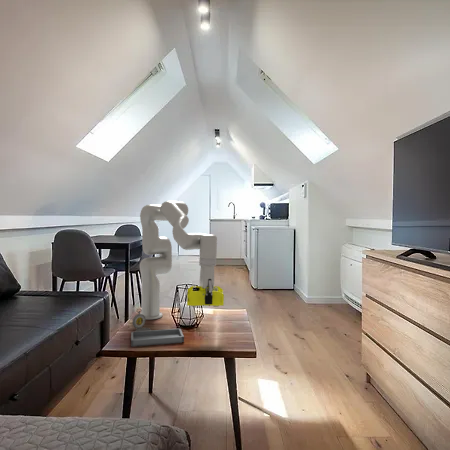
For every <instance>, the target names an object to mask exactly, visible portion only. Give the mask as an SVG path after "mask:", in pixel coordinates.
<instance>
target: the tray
mask: <svg viewBox="0 0 450 450" xmlns="http://www.w3.org/2000/svg"><path fill="white" fill-rule="evenodd" d="M130 335H131V336H130V340H131V341H130V342H131V343H130V345H131V347H145V346H155V345H156V346H157V345H158V346H159V345H169V344H172V345H173V344H182V342H184V343H185V336H184V334H183V331H182V329H181V328H170V329H168V328H167V329H166V328H165V329H154V330H153V329H151V330H150V331H136V330H134V331H131V332H130Z"/></svg>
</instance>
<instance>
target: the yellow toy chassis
mask: <svg viewBox="0 0 450 450" xmlns="http://www.w3.org/2000/svg"><path fill="white" fill-rule="evenodd" d="M207 288H209V287H207ZM207 291H208V290H207ZM205 295H206V290H205V289H203V288H202V287H201V286H200V285H191V286H190V287H188V288H187V295H186V296H187V297H186V298H187V301H186V302H187V303H186V305H187V307H188V306H190V307H199V306H202V307H204V306H205V307H206V306H208V307H212V306H213V307H215V308H216V307H217V308H219V307H222V306H224V304H225V302H224V301H225V296H224V289H223V288H222V287H220V286H219V285H218V286H217V285H216V286H215V285H214V288H213V289H212V304H205Z"/></svg>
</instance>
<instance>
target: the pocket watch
mask: <svg viewBox="0 0 450 450" xmlns="http://www.w3.org/2000/svg"><path fill="white" fill-rule="evenodd" d="M136 311H137V313H138V314H136V315H135V316H134V317H133V318H132V326H133V327H134V328H135V331H150V330H152V329H151V328H150V327H144V326H145V324H146V319H145V316H144V315H143V314H140V313H141V311H142V310H141V308H137V309H136Z"/></svg>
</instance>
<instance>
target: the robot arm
mask: <svg viewBox="0 0 450 450" xmlns="http://www.w3.org/2000/svg"><path fill="white" fill-rule="evenodd" d="M188 214H189V207H188V205H187V203H185V202H184V201H181V200H179V201H178V200H166V201H163V202H162V203H161V204H160V203H159V204H157V203H156V204H155V203H152V204H151V203H150V204H146V205H144V206H143V207H142V208H141V210H140V213H139V218H140V219H139V220H140V224H141V229H142V231H141V232H142V233H141V234H142V236H141V237H142V238H141V239H142V252H143V253H144V254H145V255H147V256H148V255H149V256H150V255H153V256H151V257H145V258H143V259H142V260H140V263H139V270H140V271H139V272H140V278H141V307H140V309H141V310H142V311H141V310H140V311H141V312H140V314H143V315H144V316H145V319H146V320H150V321H151V320H156V319H157V320H158V319H160V318H162V317H163V312H160V308H161V307H160V303H161V300H160V298H161V297H160V295H161V294H160V293H161V289H160V288H161V285H160V284H161V283H160V280H159V278H158V277H157V276H158V275H163V274H168V273H169V272H170V271H171V270H172V266H173V259H172V258H173V257H172V256H173V254H172V253H173V252H172V250H173V249H172V242H171V240H170V238H168V237H167V236H159V233H160V232H159V227H158V224H157V223H156V221H160V222H161V221H167V222H168V223H169V224H170V225H171V226H172V237H173V239H174V241H175V243H176V244H177V245H178V246H179V247H180V248H181V249H183V250H185V251H188V250H189V251H190V250H191V251H192V250H199V258H198V259H199V264H198V265H199V266H200V271H199V286H201V287H202V288H203V289H205V290H206V295H205V304H212V289H213V288H214V286H215V267H216V266H217V244H218V242H217V241H218V237H217V235H216V234H210V233H203V232H186V231H185V228H186V227H187V226H188V225H189V216H188ZM154 255H159V256H154ZM207 287H209V288H207ZM207 290H208V291H207Z"/></svg>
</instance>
